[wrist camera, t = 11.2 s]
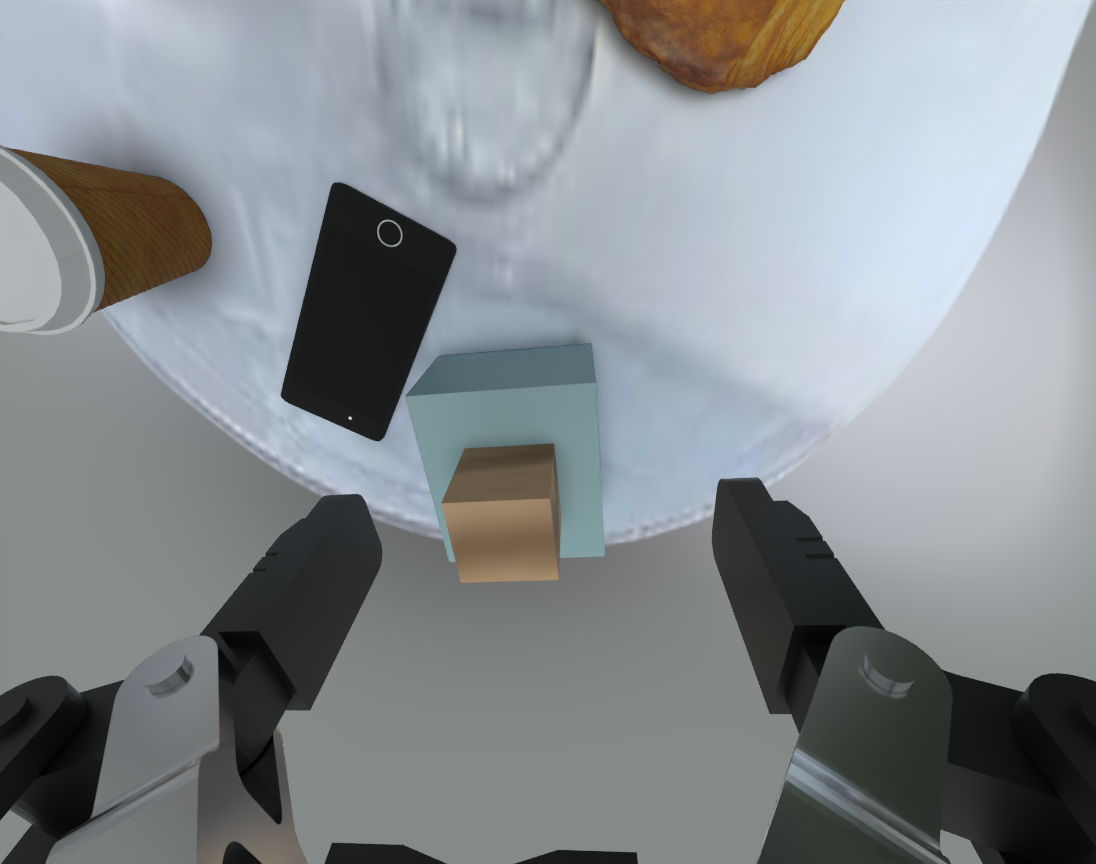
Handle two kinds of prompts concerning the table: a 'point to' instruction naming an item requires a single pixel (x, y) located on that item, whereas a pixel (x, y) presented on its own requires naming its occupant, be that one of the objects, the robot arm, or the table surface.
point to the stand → (516, 426)
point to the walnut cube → (505, 514)
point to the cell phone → (364, 312)
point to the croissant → (723, 37)
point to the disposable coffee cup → (87, 239)
